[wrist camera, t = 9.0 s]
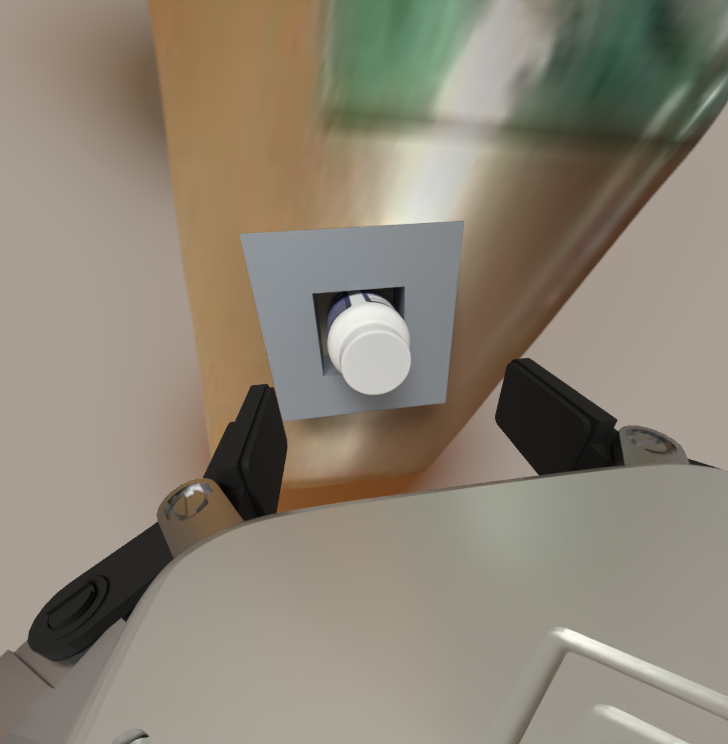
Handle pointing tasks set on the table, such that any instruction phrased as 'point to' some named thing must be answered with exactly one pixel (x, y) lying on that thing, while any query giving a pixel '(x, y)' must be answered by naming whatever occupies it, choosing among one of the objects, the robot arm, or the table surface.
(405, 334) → the pill bottle
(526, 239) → the table surface
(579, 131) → the table surface
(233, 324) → the table surface
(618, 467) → the robot arm
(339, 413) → the socket block
